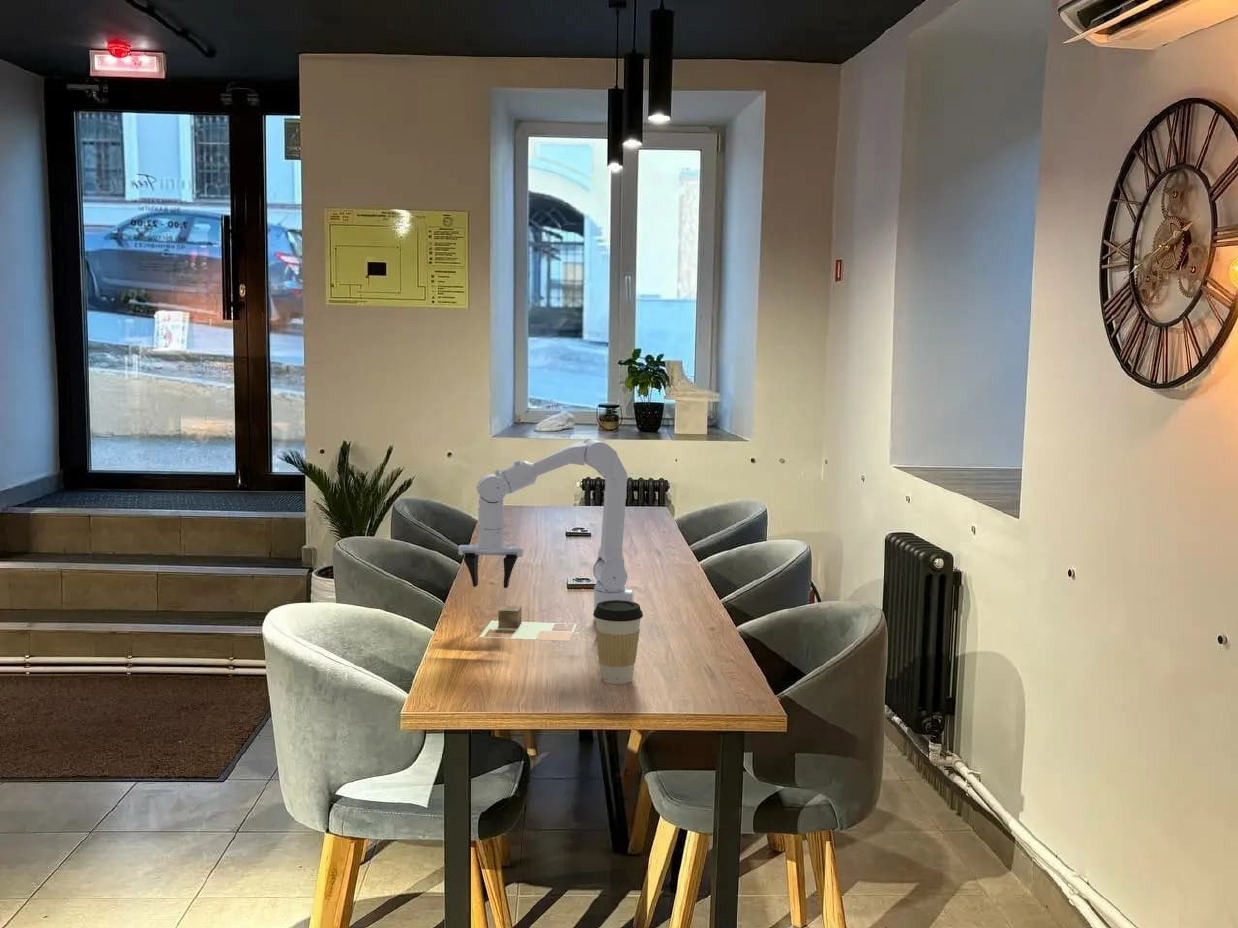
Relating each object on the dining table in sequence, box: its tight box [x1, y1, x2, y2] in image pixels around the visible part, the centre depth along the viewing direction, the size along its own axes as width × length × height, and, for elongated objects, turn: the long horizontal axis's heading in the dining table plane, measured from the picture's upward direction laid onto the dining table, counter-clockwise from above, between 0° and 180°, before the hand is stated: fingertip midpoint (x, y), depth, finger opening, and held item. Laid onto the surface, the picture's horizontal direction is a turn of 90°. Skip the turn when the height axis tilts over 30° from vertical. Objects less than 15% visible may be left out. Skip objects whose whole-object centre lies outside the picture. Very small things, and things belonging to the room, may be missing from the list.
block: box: [497, 605, 523, 628], centre depth 242 cm, size 4×4×4 cm
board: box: [478, 620, 578, 642], centre depth 238 cm, size 20×14×2 cm
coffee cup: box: [593, 600, 644, 685], centre depth 209 cm, size 10×10×15 cm
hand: (490, 586), depth 241 cm, fingers open, 6 cm apart
